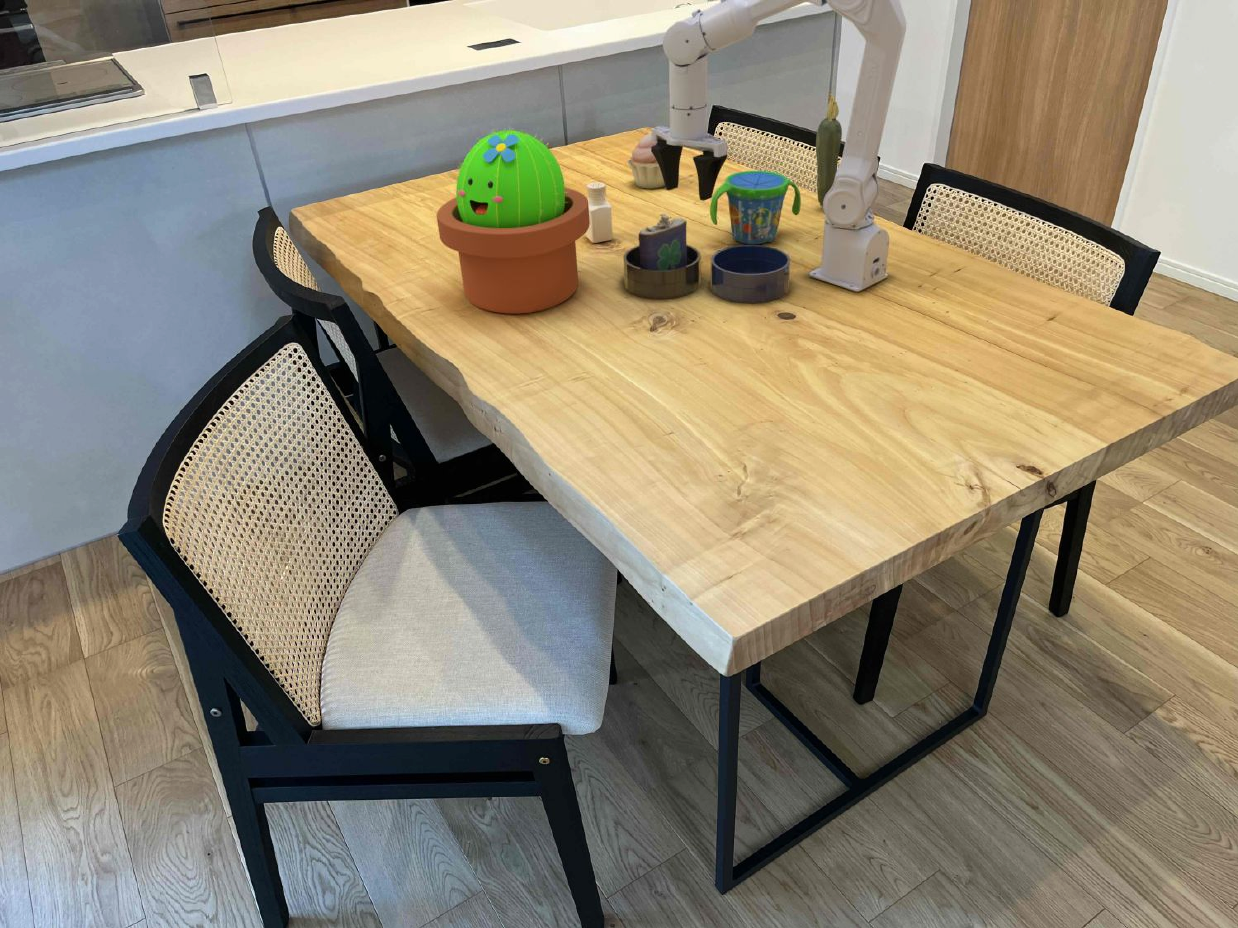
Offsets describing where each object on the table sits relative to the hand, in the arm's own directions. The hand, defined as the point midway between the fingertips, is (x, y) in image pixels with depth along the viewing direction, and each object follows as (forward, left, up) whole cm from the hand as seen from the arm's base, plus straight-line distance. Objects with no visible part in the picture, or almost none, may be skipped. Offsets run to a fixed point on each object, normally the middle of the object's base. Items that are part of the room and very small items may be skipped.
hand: (688, 193), depth 149 cm
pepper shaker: (+17, +5, -11) cm, 21 cm away
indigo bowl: (-16, +3, -10) cm, 19 cm away
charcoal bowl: (-5, +11, -10) cm, 16 cm away
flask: (-5, +11, -10) cm, 16 cm away
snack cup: (-3, -13, -11) cm, 17 cm away
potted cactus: (+9, +28, -11) cm, 31 cm away
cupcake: (+32, -22, -11) cm, 40 cm away
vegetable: (-3, -32, -11) cm, 34 cm away
